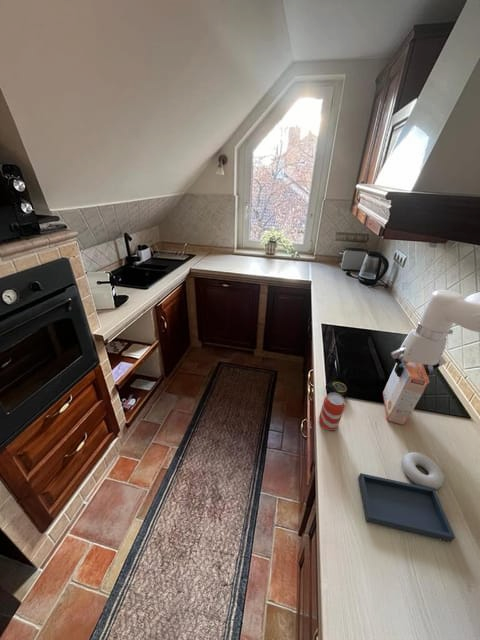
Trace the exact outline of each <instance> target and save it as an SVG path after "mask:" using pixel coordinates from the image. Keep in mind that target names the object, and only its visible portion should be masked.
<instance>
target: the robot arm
mask: <svg viewBox="0 0 480 640" xmlns="http://www.w3.org/2000/svg"><path fill="white" fill-rule="evenodd" d="M454 324H455V325H456V326H457V325H458V326H459V327H462V328H464V329H466V330H469V331H472V332H475V333H480V291H477V292H475V293H472V294H469V295H468V296H466V297H465V296H464V295H462V294H461V293H459V292H456V291H453V290H449V289H436V290H434V291H433V292H432V293H431V294H430V297H429V299H428V301H427V303H426V305H425V307H424V310H423V311H422V314H421V317H420V319H419V320H418V323H417V325H416V327H415V328H413V329H411V330H410V331H409V332H408V335H407V336H406V337H405V338H404V339H403V341H402V344H401V345H400V347H399V348H398V349H396V350H394V351H393V350H392V351H391V352H390V355H391V357H392V359H393V360H394V361H395V365H396V363H397V365H396V367H395V366H394V367H395V370H394V371H395V373H396V374H397V376H398V377H400V376H401V374H402V372H403V370H404V367H403V366H404V365H406V364H407V363H408V362H412V363H419V364H423V366H424V368H425V371H426V373H427V376H428V377H429V375H430V372H433V371H434V370H436V369H439V368H440V367H441V366H444V365H446V364H447V361H446V359H445V358H444V356H443V354H444V351H445V349H446V345H447V341H448V340H447V339H448V338H447V337H448V335H453V333H454V330H453V329H452V327H453V325H454ZM401 354H403V355H402V356H401V357H400V358H399V356H400V355H401Z"/></svg>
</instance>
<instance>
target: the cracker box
mask: <svg viewBox="0 0 480 640" xmlns="http://www.w3.org/2000/svg"><path fill="white" fill-rule="evenodd" d="M402 355H403V354H401V355H398V358H400V357H401V356H402ZM396 365H397V363H396V362H395V365H394V367H393V368H392V371H391V373H390V375H389V378H388V381H387V382H386V384H385V386H384V389H383V391H382V398H383V405H384V411H385V417H386V421H387V422H392V423H394V424H399V425H401V426H405V425H406V424H407V421H408V420H409V418H410V416H411V415H412V413H413V411H414V410H415V408H416V406H417V404H418V402H419V401H420V399H421V397H422V395H423V394H424V392H425V390H426V389H427V387H428V385H429V383H430V379H429V375H428V376H427V373H426V371H425V368H424V366H423V365H424V364H419V363H412V362H408V363H407V364H406V365H404V366H403V367H404V370H403V372H402V374H401V376H400V377H398V376H397V374H396V373H395V371H394V370H395V367H396Z"/></svg>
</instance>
